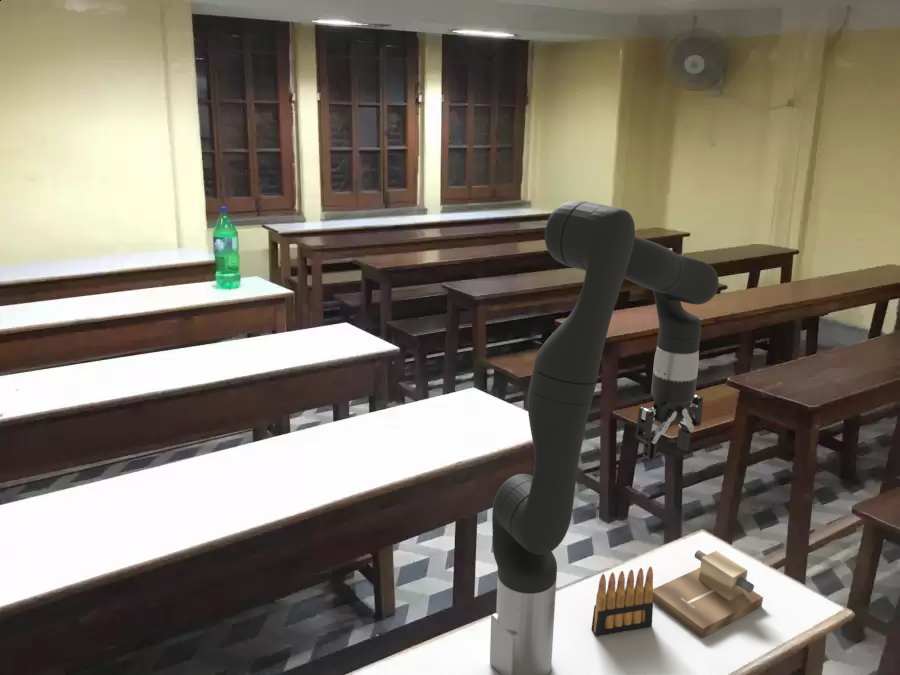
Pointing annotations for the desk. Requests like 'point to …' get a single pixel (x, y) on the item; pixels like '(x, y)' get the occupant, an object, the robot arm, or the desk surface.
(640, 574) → the ammunition clip
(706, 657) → the desk surface
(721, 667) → the desk surface
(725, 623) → the walnut board
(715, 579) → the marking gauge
